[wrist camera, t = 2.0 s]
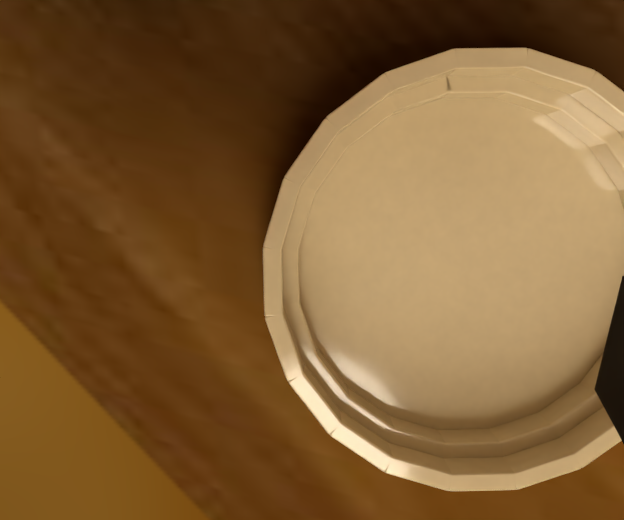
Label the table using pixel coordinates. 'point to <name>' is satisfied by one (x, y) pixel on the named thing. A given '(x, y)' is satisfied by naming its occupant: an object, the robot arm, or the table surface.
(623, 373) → the robot arm
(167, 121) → the table surface
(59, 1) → the table surface
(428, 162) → the pan
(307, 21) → the table surface
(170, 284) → the table surface
